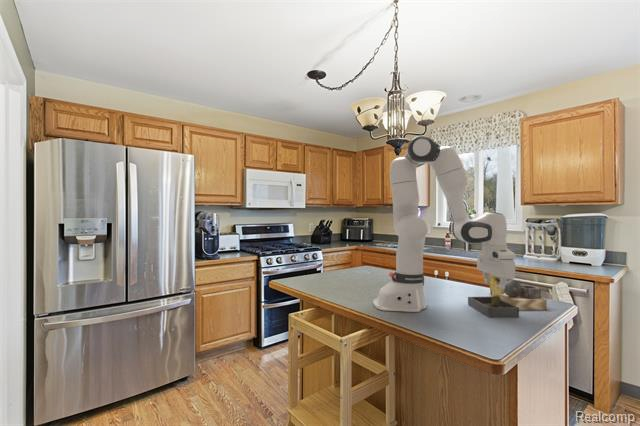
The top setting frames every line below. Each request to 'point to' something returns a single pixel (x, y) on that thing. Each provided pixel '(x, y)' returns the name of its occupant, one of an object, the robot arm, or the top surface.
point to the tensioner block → (523, 296)
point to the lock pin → (496, 294)
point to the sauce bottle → (493, 284)
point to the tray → (484, 307)
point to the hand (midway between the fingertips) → (494, 285)
